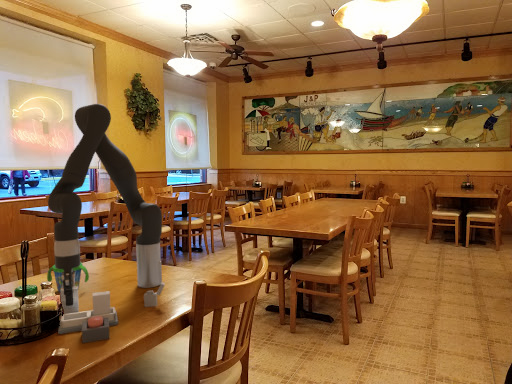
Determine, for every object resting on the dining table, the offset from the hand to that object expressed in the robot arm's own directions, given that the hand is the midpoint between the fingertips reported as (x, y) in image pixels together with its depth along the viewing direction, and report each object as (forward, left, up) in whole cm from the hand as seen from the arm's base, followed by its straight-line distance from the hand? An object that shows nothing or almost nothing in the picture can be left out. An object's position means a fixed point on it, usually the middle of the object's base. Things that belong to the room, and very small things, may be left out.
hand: (69, 303), depth 128 cm
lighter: (-27, +5, -3) cm, 28 cm away
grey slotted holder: (-6, +12, -3) cm, 14 cm away
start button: (-8, +22, -1) cm, 23 cm away
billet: (0, 0, -3) cm, 3 cm away
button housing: (-8, +22, -3) cm, 24 cm away
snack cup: (+2, -25, -3) cm, 25 cm away
